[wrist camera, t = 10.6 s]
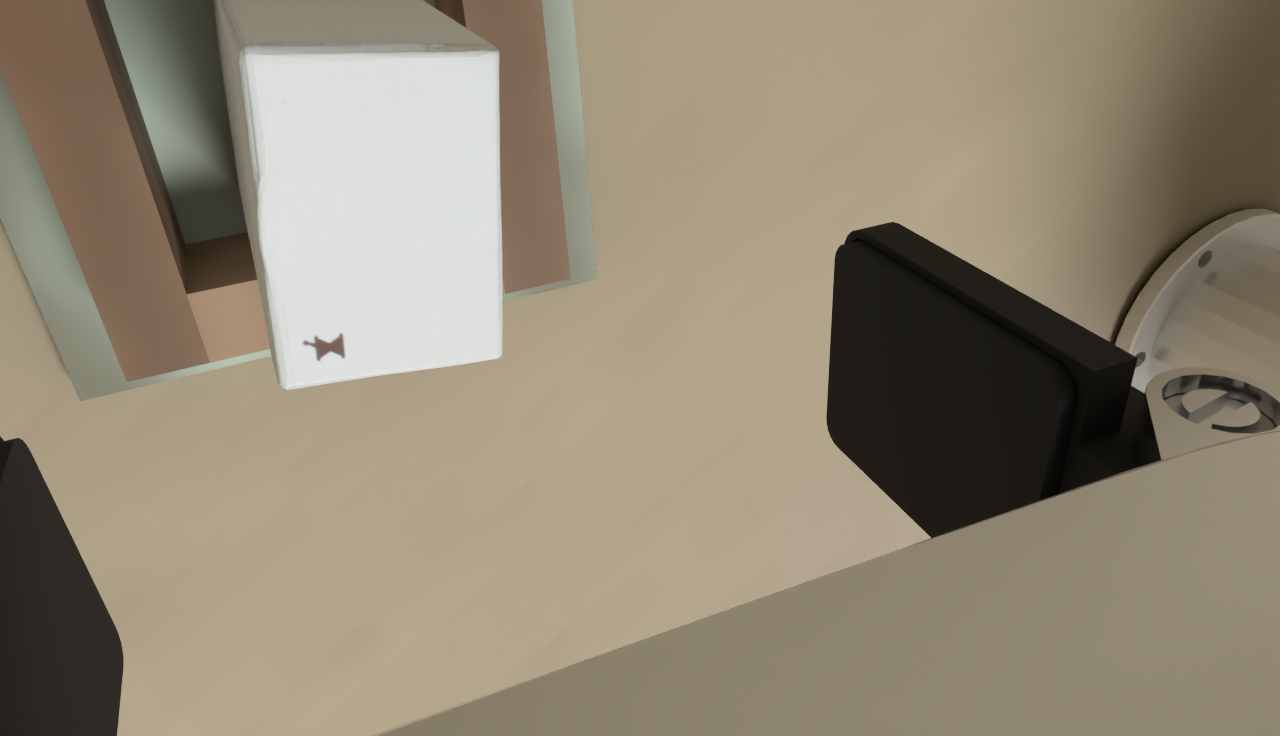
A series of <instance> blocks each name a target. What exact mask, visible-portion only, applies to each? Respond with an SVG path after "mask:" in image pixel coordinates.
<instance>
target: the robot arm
mask: <svg viewBox="0 0 1280 736" xmlns="http://www.w3.org/2000/svg"><path fill="white" fill-rule="evenodd" d="M827 426H828V431H829V433H830V436H831V438H832V440H833V442H834V443H835V444H836V446H837V447H838V448H839V449H840V450H841V451H842V452H843V453H844V454H845V455H846V456H847V457H848V458H849V459H851V460H852V461H853V462H854V463H855V464H856V465H857V466H858V467H859V468H860V469H861V470H862V471H863V472H864V473H865V474H866V475H867V476H868V477H869V478H870V479H871V480H872V481H873V482H874V483H875V484H876V485H877V486H878V487H879V488H881V489H882V490H883V491H884V492H885V493H886V494H887V495H888V496H889V497H890V498H891V499H892V500H893V501H894V502H895V503H896V504H897V505H898V506H899V507H900V508H901V509H902V510H903V511H904V512H905V513H906V514H907V515H908V516H909V517H911V518H912V519H913V520H914V521H915V522H916V523H917V524H918V525H919V526H920V527H921V528H922V529H923V530H924V531H925V532H926V533H927V534H928V535H929V536H930V537H931V539H928V540H925V541H922V542H919V543H916V544H914V545H911V546H908V547H905V548H902V549H899V550H897V551H894V552H891V553H888V554H885V555H882V556H880V557H877V558H874V559H871V560H868V561H865V562H862V563H860V564H857V565H854V566H851V567H848V568H845V569H842V570H840V571H837V572H834V573H831V574H828V575H825V576H823V577H820V578H817V579H814V580H811V581H808V582H805V583H803V584H800V585H797V586H794V587H791V588H788V589H785V590H783V591H780V592H777V593H774V594H771V595H768V596H766V597H763V598H760V599H757V600H754V601H751V602H748V603H746V604H743V605H740V606H737V607H734V608H731V609H729V610H726V611H723V612H720V613H717V614H715V615H712V616H709V617H706V618H703V619H700V620H698V621H695V622H692V623H689V624H686V625H684V626H681V627H678V628H675V629H672V630H669V631H667V632H664V633H661V634H658V635H655V636H653V637H650V638H647V639H644V640H641V641H638V642H636V643H633V644H630V645H627V646H624V647H621V648H618V649H616V650H613V651H610V652H607V653H604V654H601V655H599V656H596V657H593V658H590V659H587V660H584V661H582V662H579V663H576V664H573V665H570V666H567V667H565V668H562V669H559V670H556V671H553V672H550V673H548V674H545V675H542V676H539V677H536V678H533V679H531V680H528V681H525V682H522V683H519V684H516V685H514V686H511V687H508V688H505V689H502V690H499V691H496V692H494V693H491V694H488V695H485V696H482V697H479V698H477V699H474V700H471V701H468V702H466V703H463V704H460V705H457V706H454V707H452V708H449V709H446V710H443V711H440V712H438V713H435V714H432V715H429V716H426V717H424V718H421V719H418V720H415V721H412V722H410V723H407V724H404V725H401V726H398V727H396V728H393V729H390V730H387V731H384V732H382V733H379V734H376V735H373V736H1280V213H1276V212H1273V211H1270V210H1266V209H1246V210H1243V211H1239V212H1235V213H1232V214H1229V215H1227V216H1225V217H1223V218H1221V219H1218V220H1216V221H1214V222H1212V223H1210V224H1209V225H1207V226H1206V227H1204V228H1203V229H1201V230H1200V231H1198V232H1197V233H1195V234H1194V235H1193V236H1191V237H1190V238H1188V239H1187V240H1186V241H1185V242H1184V243H1183V244H1182V245H1181V246H1180V247H1178V248H1177V249H1176V250H1175V251H1174V252H1173V253H1172V254H1171V255H1170V256H1169V257H1168V258H1167V259H1166V260H1165V261H1164V262H1163V264H1162V265H1161V266H1160V267H1159V268H1158V269H1157V270H1156V271H1155V272H1154V274H1153V275H1152V276H1151V278H1150V279H1149V281H1148V282H1147V283H1146V285H1145V286H1144V287H1143V289H1142V290H1141V292H1140V293H1139V294H1138V296H1137V298H1136V300H1135V301H1134V303H1133V305H1132V307H1131V308H1130V310H1129V312H1128V314H1127V316H1126V318H1125V320H1124V322H1123V325H1122V327H1121V329H1120V332H1119V334H1118V336H1117V339H1116V343H1115V345H1114V344H1112V343H1110V342H1109V341H1107V340H1105V339H1103V338H1101V337H1100V336H1098V335H1096V334H1094V333H1093V332H1091V331H1089V330H1087V329H1085V328H1084V327H1082V326H1080V325H1078V324H1076V323H1075V322H1073V321H1071V320H1069V319H1068V318H1066V317H1064V316H1062V315H1060V314H1059V313H1057V312H1055V311H1053V310H1052V309H1050V308H1048V307H1046V306H1044V305H1043V304H1041V303H1039V302H1037V301H1035V300H1034V299H1032V298H1030V297H1028V296H1027V295H1025V294H1023V293H1021V292H1019V291H1018V290H1016V289H1014V288H1012V287H1011V286H1009V285H1007V284H1005V283H1003V282H1002V281H1000V280H998V279H996V278H995V277H993V276H991V275H989V274H987V273H986V272H984V271H982V270H980V269H978V268H977V267H975V266H973V265H971V264H970V263H968V262H966V261H964V260H962V259H961V258H959V257H957V256H955V255H954V254H952V253H950V252H948V251H946V250H945V249H943V248H941V247H939V246H937V245H936V244H934V243H932V242H930V241H929V240H927V239H925V238H923V237H921V236H920V235H918V234H916V233H914V232H913V231H911V230H909V229H907V228H905V227H904V226H902V225H900V224H898V223H894V222H891V223H886V224H882V225H877V226H873V227H869V228H864V229H860V230H856V231H852V232H851V233H850V234H849V235H848V236H847V238H846V241H845V244H844V245H841V246H840V247H839V248H838V250H837V252H836V256H835V267H834V286H833V306H832V325H831V344H830V363H829V382H828V401H827ZM122 675H123V651H122V646H121V641H120V638H119V634H118V632H117V629H116V627H115V625H114V623H113V621H112V619H111V617H110V615H109V613H108V611H107V609H106V606H105V604H104V602H103V600H102V598H101V596H100V594H99V592H98V590H97V588H96V586H95V584H94V582H93V580H92V578H91V576H90V573H89V571H88V569H87V567H86V565H85V563H84V561H83V559H82V557H81V555H80V553H79V551H78V549H77V547H76V545H75V543H74V540H73V538H72V536H71V534H70V532H69V530H68V528H67V526H66V524H65V522H64V520H63V518H62V516H61V514H60V512H59V510H58V507H57V505H56V503H55V501H54V499H53V497H52V495H51V493H50V491H49V489H48V487H47V485H46V483H45V481H44V479H43V477H42V474H41V472H40V470H39V468H38V466H37V464H36V462H35V460H34V458H33V456H32V454H31V452H30V450H29V448H28V447H27V445H26V444H25V443H24V441H23V440H21V439H19V438H16V439H12V440H8V441H3V439H2V438H1V437H0V736H117V728H118V717H119V707H120V696H121V685H122Z"/></svg>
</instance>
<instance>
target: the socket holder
mask: <svg viewBox="0 0 1280 736" xmlns="http://www.w3.org/2000/svg"><path fill="white" fill-rule="evenodd" d="M423 1H425V2H426V3H428V4H429V5H431V6H432V7H434V8H436V9H437V10H439V11H440V12H442V13H444V14H445V15H447V16H448V17H450V18H452V19H453V20H455V21H456V22H458V23H459V24H461V25H462V26H464V27H465V28H467V29H468V30H470V31H471V32H473V33H475V34H476V35H478V36H480V37H481V38H483V39H484V40H486V41H487V42H489V43H490V44H492V45H494V46H495V47H496V48H498V50H499V57H500V58H499V112H500V189H501V223H502V301H506V300H511V299H515V298H519V297H523V296H528V295H532V294H536V293H540V292H545V291H549V290H553V289H557V288H562V287H566V286H570V285H574V284H579V283H583V282H587V281H591V280H596V279H597V271H596V259H595V248H594V237H593V225H592V214H591V202H590V191H589V180H588V168H587V157H586V146H585V134H584V123H583V112H582V100H581V89H580V78H579V66H578V55H577V43H576V32H575V21H574V9H573V0H423ZM0 219H1V222H2V224H3V226H4V228H5V231H6V233H7V235H8V238H9V240H10V242H11V244H12V247H13V249H14V251H15V254H16V256H17V258H18V260H19V263H20V265H21V267H22V269H23V272H24V274H25V276H26V279H27V281H28V283H29V285H30V288H31V290H32V292H33V295H34V297H35V299H36V301H37V304H38V306H39V308H40V310H41V313H42V315H43V317H44V320H45V322H46V324H47V326H48V329H49V331H50V333H51V336H52V338H53V340H54V342H55V345H56V347H57V349H58V351H59V354H60V356H61V358H62V361H63V363H64V365H65V367H66V370H67V372H68V374H69V377H70V379H71V381H72V383H73V386H74V388H75V390H76V392H77V395H78V397H79V399H80V401H82V400H86V399H90V398H95V397H99V396H103V395H107V394H112V393H116V392H120V391H124V390H129V389H133V388H137V387H141V386H146V385H150V384H154V383H158V382H163V381H167V380H171V379H175V378H180V377H184V376H188V375H192V374H197V373H201V372H205V371H209V370H214V369H218V368H222V367H226V366H231V365H235V364H239V363H243V362H247V361H252V360H256V359H260V358H264V357H269V356H272V355H271V350H270V347H269V341H268V335H267V329H266V323H265V317H264V312H263V307H262V302H261V296H260V291H259V286H258V281H257V275H256V270H255V265H254V260H253V255H252V250H251V245H250V240H249V236H248V231H247V226H246V221H245V216H244V211H243V205H242V200H241V196H240V190H239V183H238V177H237V170H236V164H235V157H234V150H233V143H232V137H231V130H230V123H229V116H228V110H227V103H226V96H225V89H224V83H223V76H222V68H221V61H220V54H219V47H218V39H217V30H216V21H215V13H214V4H213V0H0Z"/></svg>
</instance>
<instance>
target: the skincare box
mask: <svg viewBox="0 0 1280 736" xmlns="http://www.w3.org/2000/svg"><path fill="white" fill-rule="evenodd" d="M213 4H214V13H215V21H216V30H217V39H218V47H219V54H220V61H221V68H222V76H223V83H224V89H225V96H226V103H227V110H228V116H229V123H230V130H231V137H232V143H233V150H234V157H235V164H236V170H237V177H238V183H239V190H240V196H241V200H242V205H243V211H244V216H245V221H246V226H247V231H248V236H249V240H250V245H251V250H252V255H253V260H254V265H255V270H256V275H257V281H258V286H259V291H260V296H261V302H262V307H263V312H264V317H265V323H266V329H267V335H268V341H269V347H270V350H271V355H272V360H273V363H274V368H275V372H276V376H277V380H278V383H279V385H280V386H281V387H282V388H283V389H284V390H292V389H298V388H304V387H310V386H316V385H322V384H329V383H335V382H341V381H347V380H354V379H360V378H367V377H373V376H380V375H387V374H395V373H402V372H410V371H417V370H424V369H432V368H440V367H447V366H454V365H461V364H467V363H473V362H479V361H486V360H492V359H498V358H499V357H500V356H501V354H502V223H501V189H500V112H499V58H500V57H499V50H498V48H496V47H495V46H494V45H492V44H490V43H489V42H487V41H486V40H484V39H483V38H481V37H480V36H478V35H476V34H475V33H473V32H471V31H470V30H468V29H467V28H465V27H464V26H462V25H461V24H459V23H458V22H456V21H455V20H453V19H452V18H450V17H448V16H447V15H445V14H444V13H442V12H440V11H439V10H437V9H436V8H434V7H432V6H431V5H429V4H428V3H426V2H425V1H423V0H213Z"/></svg>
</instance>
